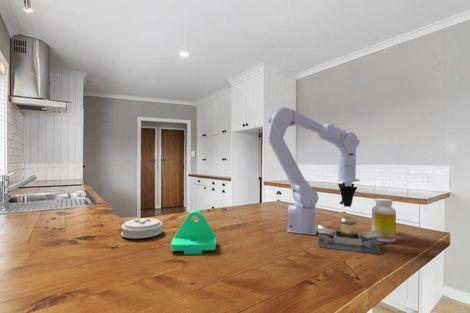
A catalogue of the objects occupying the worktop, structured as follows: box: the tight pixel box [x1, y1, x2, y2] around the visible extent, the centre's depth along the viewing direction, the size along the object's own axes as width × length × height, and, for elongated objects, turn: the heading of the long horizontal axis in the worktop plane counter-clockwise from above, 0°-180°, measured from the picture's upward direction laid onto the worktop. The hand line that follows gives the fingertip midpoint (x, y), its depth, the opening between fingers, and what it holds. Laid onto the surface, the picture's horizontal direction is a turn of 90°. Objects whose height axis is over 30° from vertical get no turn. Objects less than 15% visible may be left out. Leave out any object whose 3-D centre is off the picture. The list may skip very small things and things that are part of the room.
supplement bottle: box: [371, 198, 397, 243], centre depth 81 cm, size 7×7×13 cm
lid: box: [120, 217, 163, 239], centre depth 84 cm, size 13×13×5 cm
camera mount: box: [170, 209, 217, 255], centre depth 71 cm, size 12×8×10 cm, turn 95°
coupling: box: [339, 216, 356, 238], centre depth 76 cm, size 4×4×7 cm
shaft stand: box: [316, 224, 382, 255], centre depth 76 cm, size 17×10×5 cm, turn 70°
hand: (346, 204), depth 90 cm, fingers open, 7 cm apart
